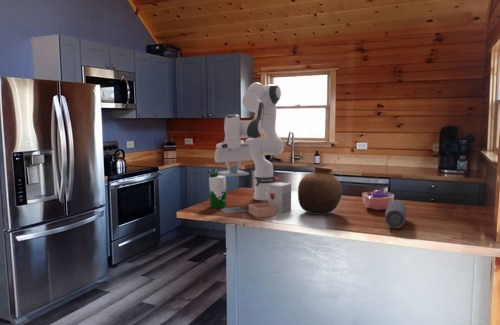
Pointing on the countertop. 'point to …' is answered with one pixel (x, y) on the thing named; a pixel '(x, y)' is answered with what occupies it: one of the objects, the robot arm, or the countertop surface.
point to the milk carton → (217, 191)
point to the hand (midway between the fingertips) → (233, 169)
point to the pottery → (319, 191)
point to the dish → (262, 210)
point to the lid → (233, 172)
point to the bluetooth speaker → (395, 214)
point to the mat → (233, 210)
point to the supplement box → (280, 196)
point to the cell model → (377, 199)
